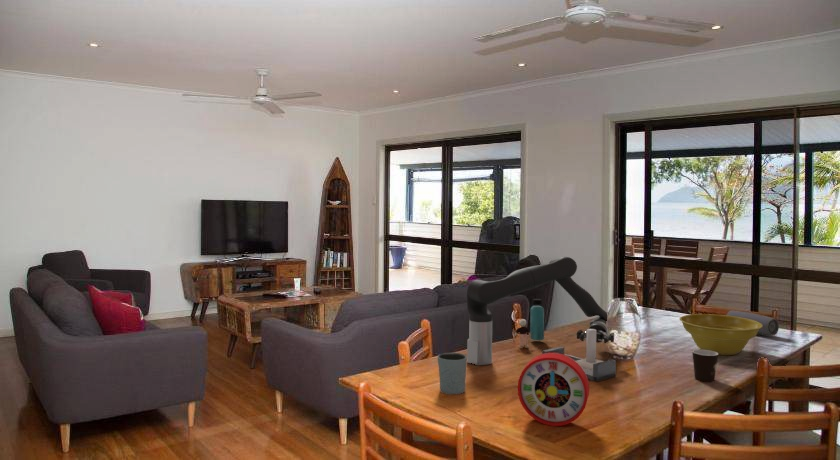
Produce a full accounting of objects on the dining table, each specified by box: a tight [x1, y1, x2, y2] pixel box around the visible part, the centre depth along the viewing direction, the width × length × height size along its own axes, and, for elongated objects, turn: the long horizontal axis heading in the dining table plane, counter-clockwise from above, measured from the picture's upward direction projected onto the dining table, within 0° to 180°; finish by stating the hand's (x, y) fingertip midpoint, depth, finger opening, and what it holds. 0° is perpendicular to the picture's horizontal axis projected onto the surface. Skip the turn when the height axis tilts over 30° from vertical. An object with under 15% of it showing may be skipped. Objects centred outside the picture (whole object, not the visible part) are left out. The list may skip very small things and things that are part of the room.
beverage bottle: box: [529, 298, 545, 341], centre depth 272 cm, size 6×7×20 cm
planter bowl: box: [679, 313, 763, 356], centre depth 255 cm, size 32×32×13 cm
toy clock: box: [517, 353, 590, 427], centre depth 172 cm, size 20×6×20 cm, turn 69°
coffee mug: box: [691, 349, 719, 383], centre depth 215 cm, size 12×9×10 cm
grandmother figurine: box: [514, 318, 531, 349], centre depth 261 cm, size 8×4×13 cm, turn 108°
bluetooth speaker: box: [726, 310, 780, 336], centre depth 291 cm, size 23×9×10 cm, turn 25°
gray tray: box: [541, 346, 617, 382], centre depth 225 cm, size 11×26×6 cm, turn 37°
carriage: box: [576, 328, 604, 370], centre depth 220 cm, size 8×8×15 cm
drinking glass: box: [437, 352, 468, 395], centre depth 201 cm, size 10×10×12 cm
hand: (593, 339), depth 228 cm, fingers open, 8 cm apart
